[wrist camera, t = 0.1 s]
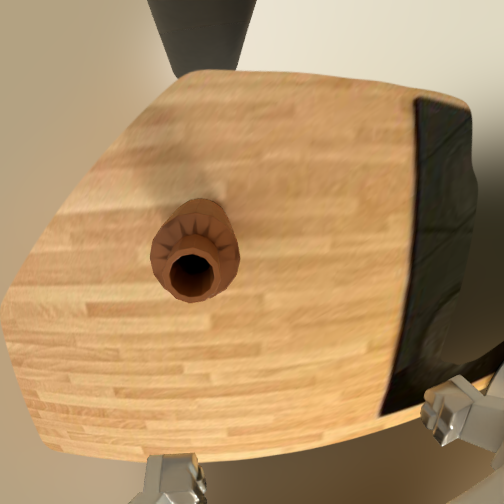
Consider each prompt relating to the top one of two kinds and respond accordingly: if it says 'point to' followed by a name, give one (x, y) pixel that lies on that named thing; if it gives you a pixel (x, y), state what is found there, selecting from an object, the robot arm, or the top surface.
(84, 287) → the top surface
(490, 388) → the humidifier
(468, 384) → the robot arm
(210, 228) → the vase
